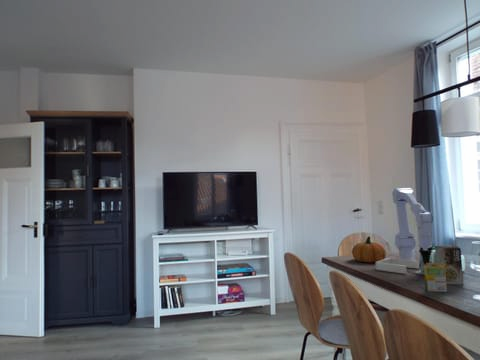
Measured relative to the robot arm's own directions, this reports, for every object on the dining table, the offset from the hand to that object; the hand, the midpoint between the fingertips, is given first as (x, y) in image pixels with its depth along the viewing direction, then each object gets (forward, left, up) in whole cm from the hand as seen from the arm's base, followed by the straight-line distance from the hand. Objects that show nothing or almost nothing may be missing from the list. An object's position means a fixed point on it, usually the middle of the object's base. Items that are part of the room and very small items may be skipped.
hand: (426, 262), depth 170 cm
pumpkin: (-12, -37, -5) cm, 39 cm away
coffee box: (+14, +14, -5) cm, 21 cm away
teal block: (0, 0, -5) cm, 5 cm away
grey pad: (0, 0, -5) cm, 5 cm away
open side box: (0, -14, -5) cm, 15 cm away
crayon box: (+32, +14, -5) cm, 35 cm away
